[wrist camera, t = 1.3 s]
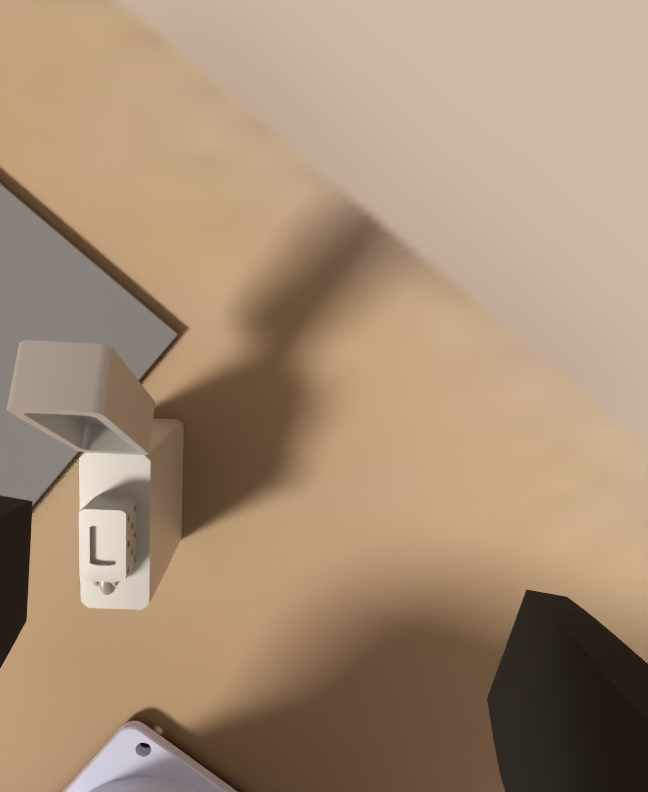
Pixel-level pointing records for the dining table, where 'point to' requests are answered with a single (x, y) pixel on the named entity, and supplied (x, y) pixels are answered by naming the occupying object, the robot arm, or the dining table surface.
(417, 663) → the dining table surface
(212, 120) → the dining table surface
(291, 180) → the dining table surface
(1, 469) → the mat
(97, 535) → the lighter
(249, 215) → the dining table surface
